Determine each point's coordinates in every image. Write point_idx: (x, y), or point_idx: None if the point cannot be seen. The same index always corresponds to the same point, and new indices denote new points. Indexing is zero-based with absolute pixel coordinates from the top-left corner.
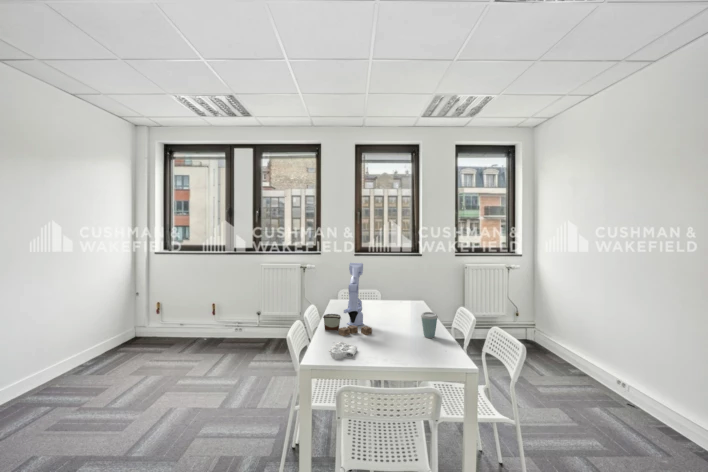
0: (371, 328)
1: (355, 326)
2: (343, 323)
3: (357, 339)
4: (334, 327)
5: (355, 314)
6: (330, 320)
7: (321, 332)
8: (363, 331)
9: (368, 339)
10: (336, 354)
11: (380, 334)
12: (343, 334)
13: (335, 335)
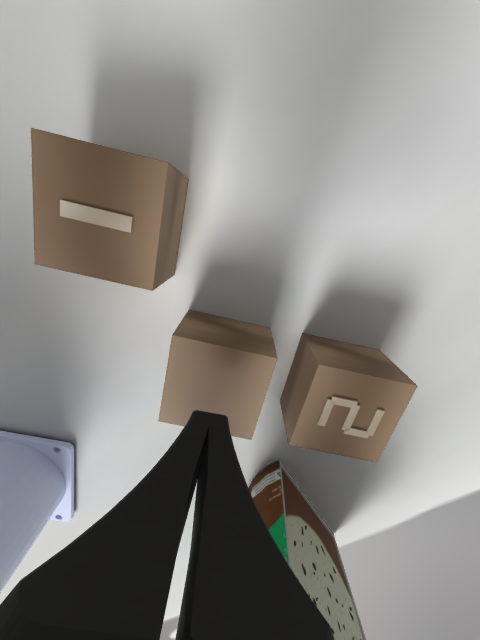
0: (47, 133)
1: (180, 370)
2: None
3: (399, 158)
4: (303, 516)
5: (171, 574)
6: (342, 631)
7: (392, 524)
8: (173, 231)
9: (315, 22)
10: None
11: (8, 17)
12: (387, 361)
13: None
